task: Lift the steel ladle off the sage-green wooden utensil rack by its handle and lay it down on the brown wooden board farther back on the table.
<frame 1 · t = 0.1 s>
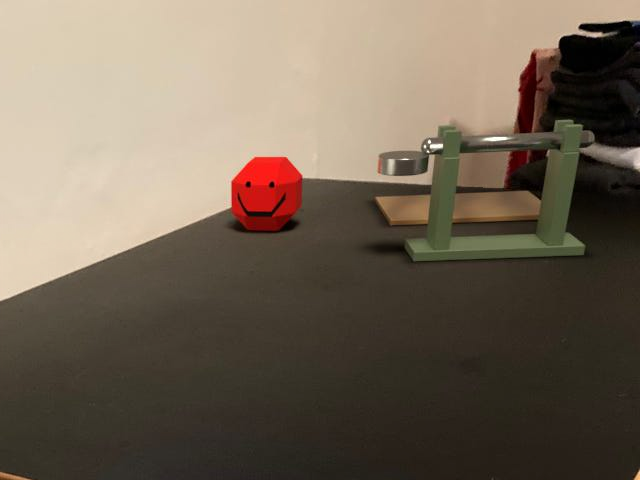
rack: (491, 251, 108), on the table
ball: (266, 228, 122), on the table
brown wooden board: (461, 209, 125), on the table
ladle: (506, 142, 102), point 11 cm above the table, touching rack
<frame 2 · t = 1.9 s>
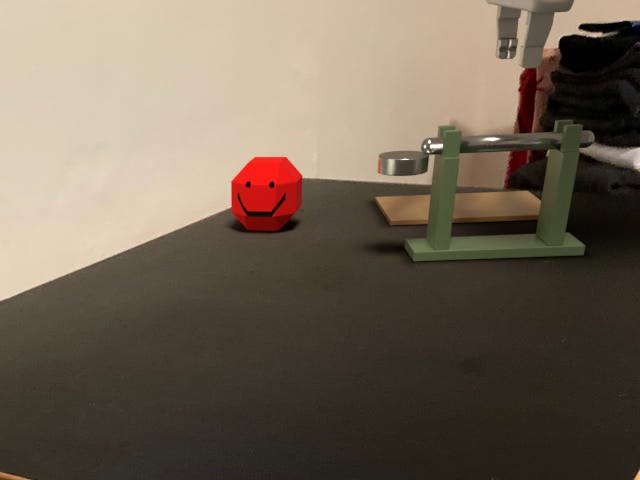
hand: (516, 63, 98), 18 cm above the table, tool pointing down, fingers open, 8 cm apart
nothing on the table moved.
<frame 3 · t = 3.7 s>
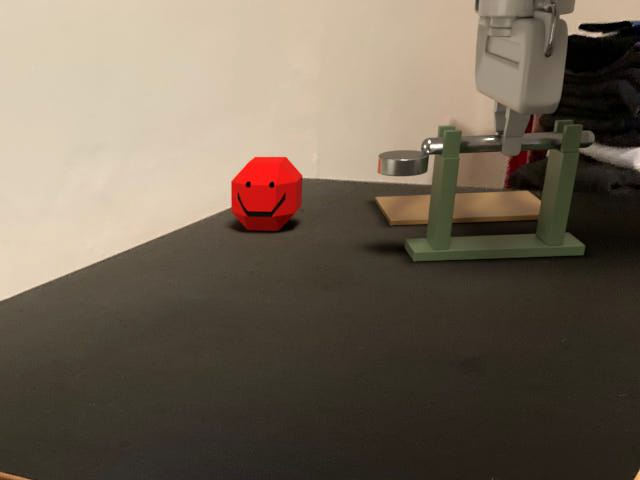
hand: (505, 152, 102), 10 cm above the table, tool pointing down, fingers closed on ladle
ladle: (507, 142, 101), point 11 cm above the table, touching gripper, rack
everything else where it was.
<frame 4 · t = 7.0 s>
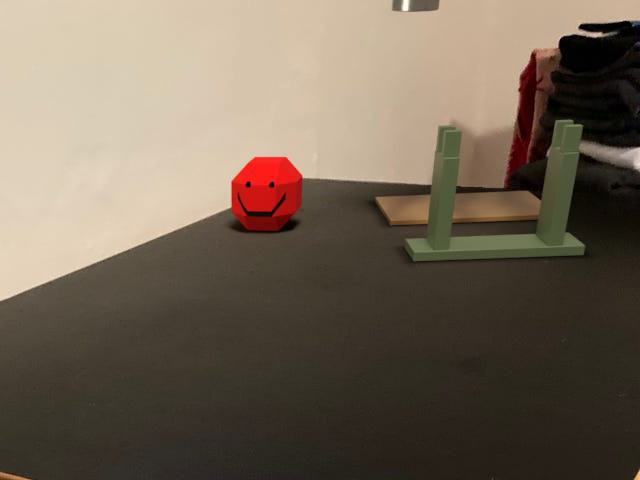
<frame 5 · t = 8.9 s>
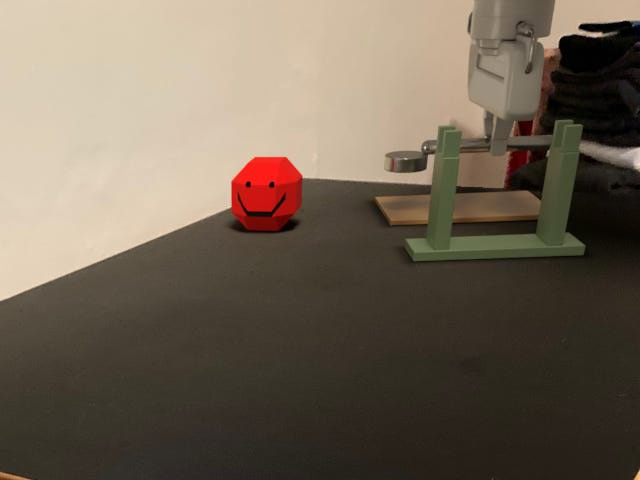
hand: (493, 153, 120), 7 cm above the table, tool pointing down, fingers closed on ladle
ladle: (494, 144, 119), point 8 cm above the table, touching gripper
everything else where it was.
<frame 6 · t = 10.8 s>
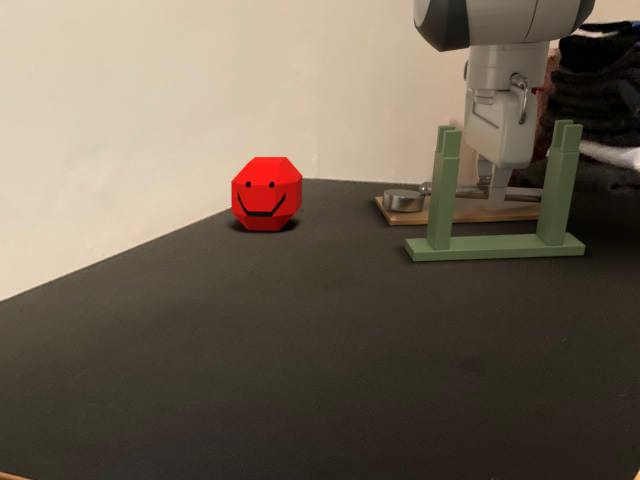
hand: (489, 196, 123), 2 cm above the table, tool pointing down, fingers open, 5 cm apart
ladle: (489, 192, 123), point 2 cm above the table, tilted 6°, touching brown wooden board
everything else where it was.
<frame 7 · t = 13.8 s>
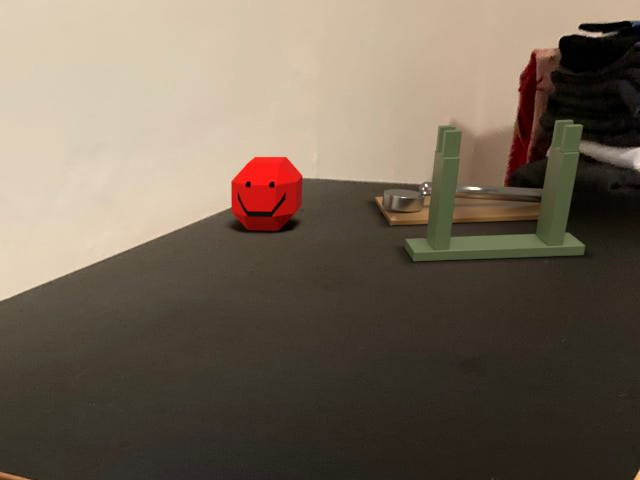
nothing on the table moved.
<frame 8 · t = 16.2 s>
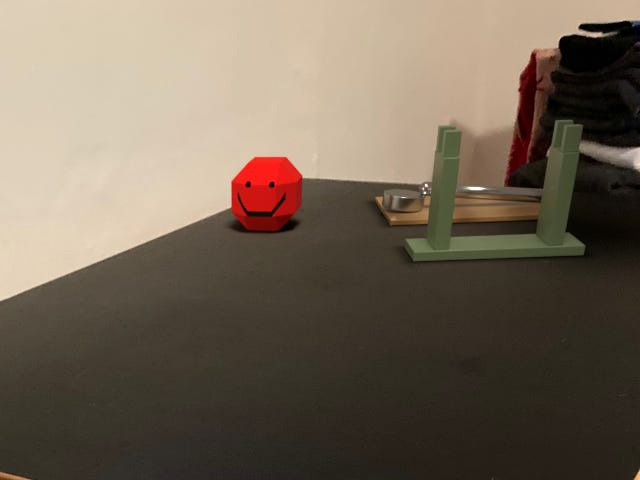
nothing on the table moved.
at the end: ladle inside the target area on the brown wooden board (2.2 cm from its centre), point 2.1 cm above the brown wooden board's base; ladle touching brown wooden board; the gripper is holding nothing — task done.
